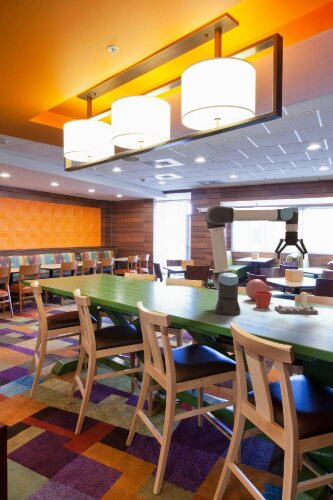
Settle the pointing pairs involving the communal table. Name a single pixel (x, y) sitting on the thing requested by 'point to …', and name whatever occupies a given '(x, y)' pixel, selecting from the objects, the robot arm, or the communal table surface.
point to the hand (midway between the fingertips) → (290, 264)
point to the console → (295, 310)
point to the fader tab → (304, 300)
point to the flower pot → (262, 299)
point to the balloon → (256, 287)
